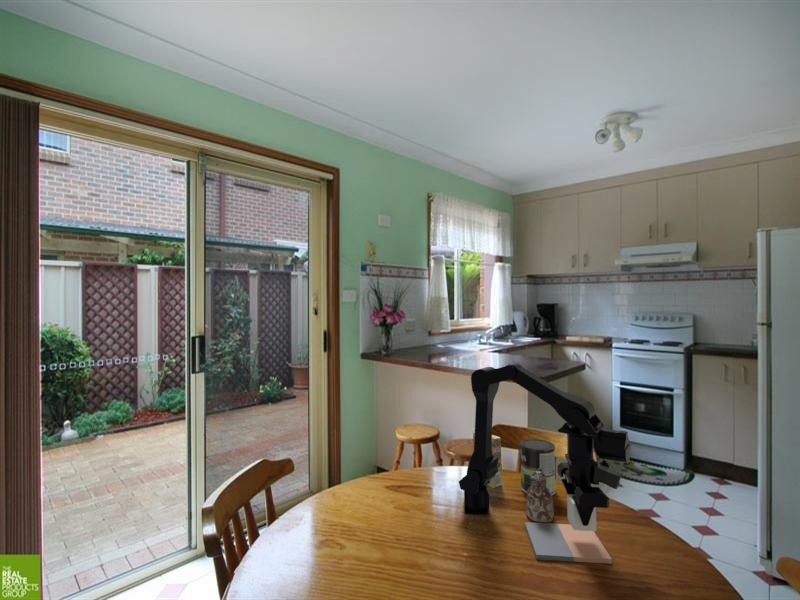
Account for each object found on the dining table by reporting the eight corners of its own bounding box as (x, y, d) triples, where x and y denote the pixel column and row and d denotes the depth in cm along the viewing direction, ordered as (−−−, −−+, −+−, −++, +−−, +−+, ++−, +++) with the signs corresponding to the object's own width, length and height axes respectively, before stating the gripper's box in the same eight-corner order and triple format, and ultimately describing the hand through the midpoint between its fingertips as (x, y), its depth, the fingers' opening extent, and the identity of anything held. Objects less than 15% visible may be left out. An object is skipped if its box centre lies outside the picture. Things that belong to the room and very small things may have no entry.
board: (536, 559, 91) (536, 554, 91) (524, 526, 105) (524, 522, 105) (611, 563, 89) (611, 559, 89) (589, 529, 103) (589, 525, 103)
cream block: (573, 530, 94) (573, 504, 95) (567, 519, 99) (567, 494, 100) (596, 531, 94) (595, 505, 94) (588, 520, 99) (588, 495, 99)
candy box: (502, 485, 129) (501, 437, 129) (493, 489, 127) (492, 439, 127) (482, 476, 136) (481, 430, 137) (473, 479, 134) (472, 432, 134)
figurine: (522, 517, 109) (521, 472, 110) (530, 506, 115) (529, 463, 115) (549, 525, 105) (548, 478, 106) (556, 513, 111) (555, 469, 111)
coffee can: (522, 495, 122) (521, 448, 122) (519, 481, 132) (518, 437, 132) (558, 498, 120) (557, 450, 120) (552, 484, 130) (552, 439, 130)
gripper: (633, 470, 87) (635, 544, 87) (601, 441, 105) (602, 502, 105) (579, 468, 88) (580, 541, 88) (556, 440, 107) (557, 500, 106)
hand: (581, 519), depth 97 cm, fingers closed on cream block, 5 cm apart
